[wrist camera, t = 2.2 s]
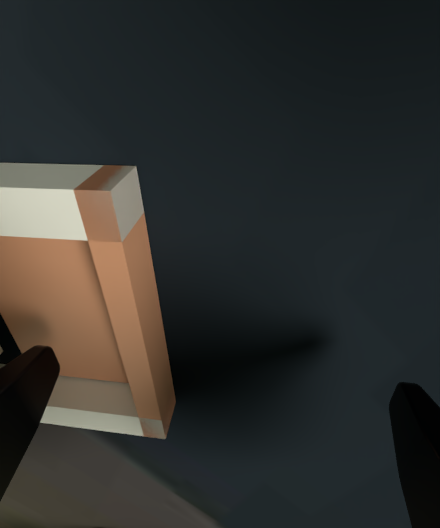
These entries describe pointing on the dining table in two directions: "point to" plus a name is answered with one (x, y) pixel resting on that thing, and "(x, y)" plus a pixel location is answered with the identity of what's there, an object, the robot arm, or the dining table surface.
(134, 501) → the dining table surface
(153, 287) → the channel
